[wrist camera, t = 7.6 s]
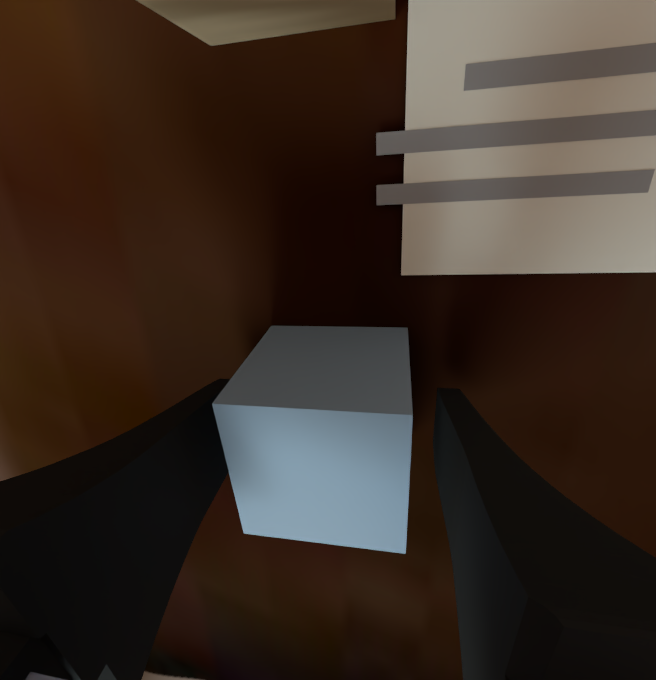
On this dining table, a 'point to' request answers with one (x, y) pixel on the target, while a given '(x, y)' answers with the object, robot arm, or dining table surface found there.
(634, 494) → the dining table surface
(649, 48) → the letter
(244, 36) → the oak block
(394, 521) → the slate cube
